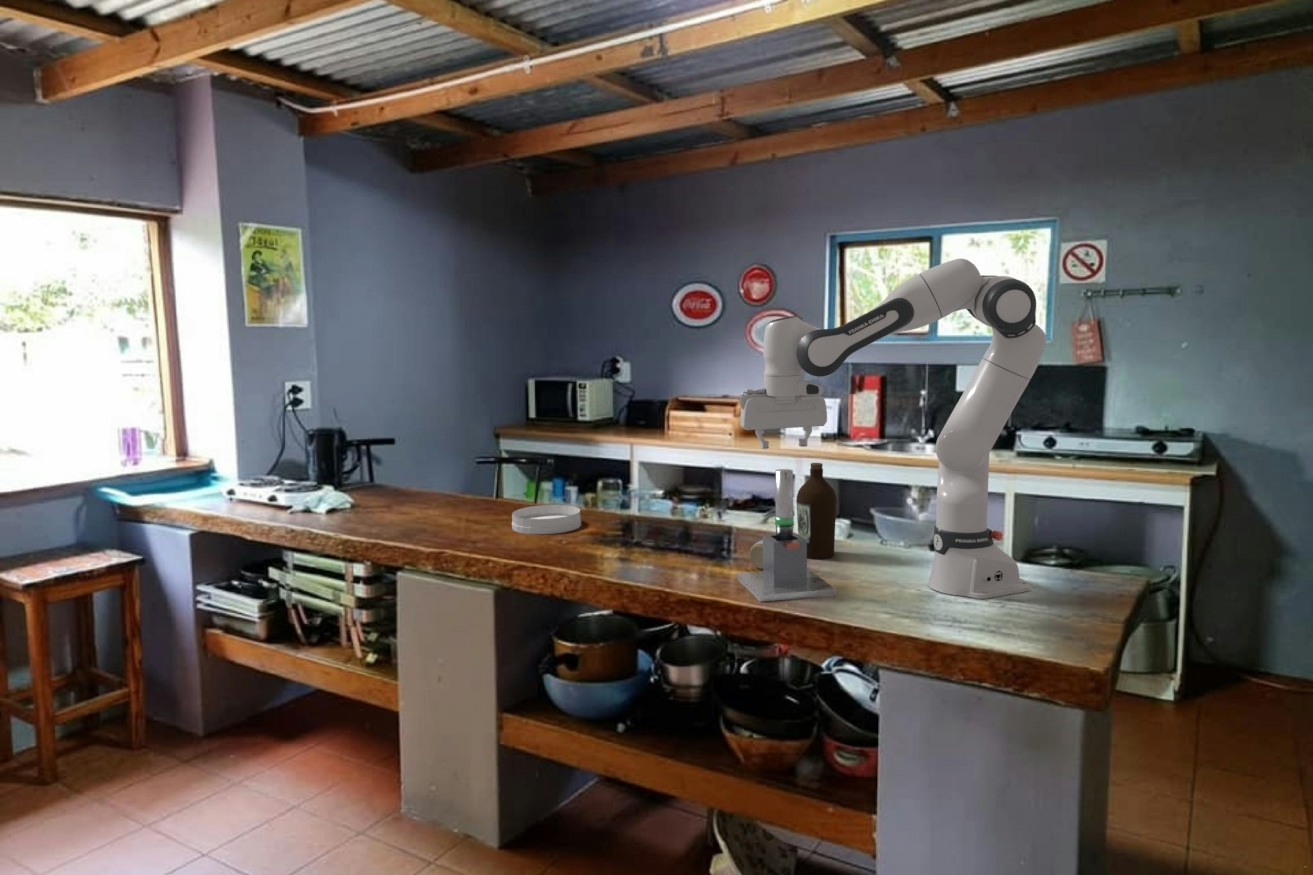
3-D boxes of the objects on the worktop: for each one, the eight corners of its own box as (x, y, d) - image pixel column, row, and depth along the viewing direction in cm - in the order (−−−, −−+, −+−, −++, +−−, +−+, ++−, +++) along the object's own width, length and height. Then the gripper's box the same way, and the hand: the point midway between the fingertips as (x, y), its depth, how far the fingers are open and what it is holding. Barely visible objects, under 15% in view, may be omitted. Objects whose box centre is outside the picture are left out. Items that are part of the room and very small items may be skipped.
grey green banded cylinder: (789, 543, 197) (789, 468, 195) (796, 547, 193) (796, 471, 191) (772, 544, 196) (772, 469, 194) (778, 548, 192) (778, 472, 190)
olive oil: (824, 548, 230) (824, 459, 227) (843, 557, 220) (844, 465, 217) (789, 551, 227) (789, 462, 224) (807, 561, 217) (807, 467, 214)
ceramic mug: (747, 568, 212) (747, 539, 211) (764, 561, 218) (764, 532, 217) (782, 576, 205) (782, 545, 204) (799, 568, 212) (799, 539, 210)
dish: (503, 524, 270) (503, 509, 270) (567, 516, 280) (567, 502, 279) (523, 538, 250) (522, 522, 250) (591, 529, 260) (591, 514, 259)
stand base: (806, 573, 206) (806, 526, 205) (835, 595, 189) (835, 543, 187) (737, 579, 203) (736, 531, 201) (760, 601, 185) (759, 549, 184)
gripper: (743, 390, 185) (744, 451, 187) (829, 386, 189) (830, 446, 190) (735, 389, 191) (736, 448, 193) (819, 385, 195) (819, 443, 197)
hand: (783, 447), depth 192 cm, fingers open, 8 cm apart
